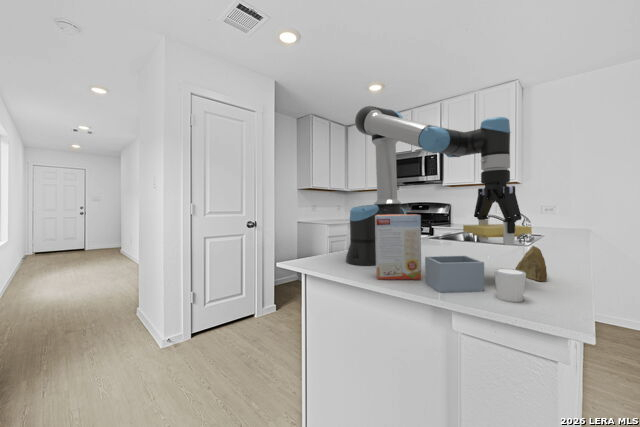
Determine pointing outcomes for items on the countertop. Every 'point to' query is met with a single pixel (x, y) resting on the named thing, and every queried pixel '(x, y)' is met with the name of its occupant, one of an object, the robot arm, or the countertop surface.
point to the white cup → (510, 284)
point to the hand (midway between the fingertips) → (495, 242)
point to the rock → (533, 265)
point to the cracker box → (398, 246)
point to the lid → (494, 230)
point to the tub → (454, 273)
